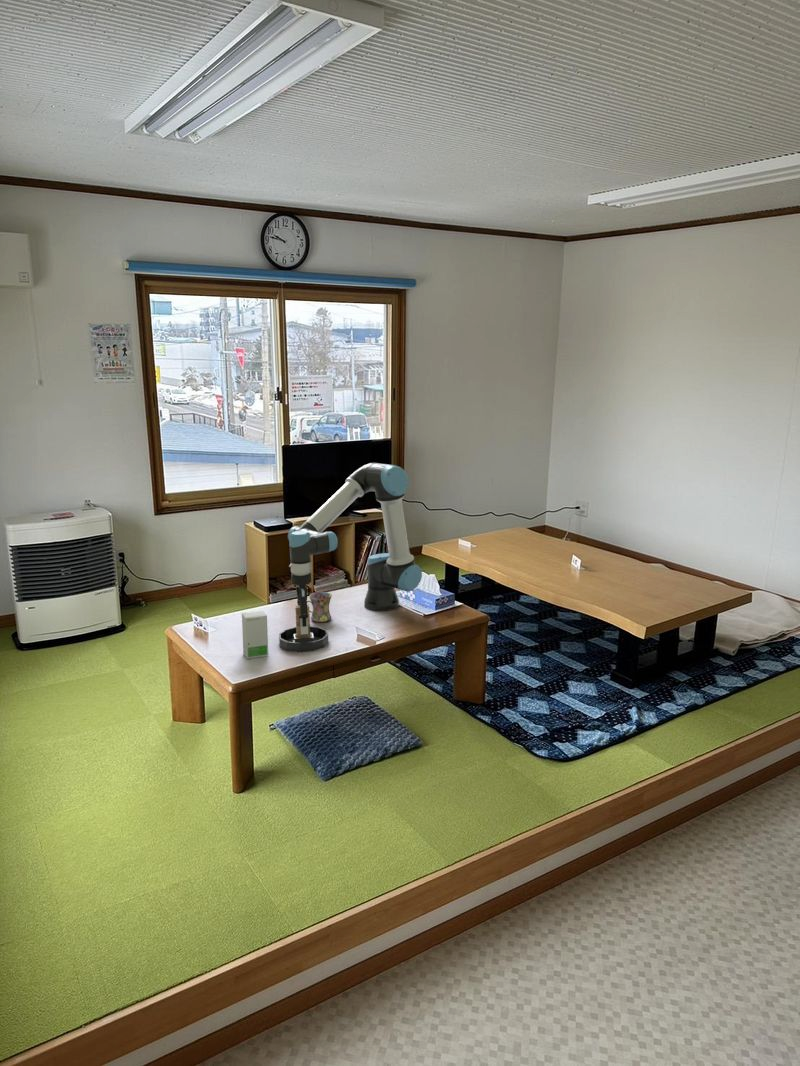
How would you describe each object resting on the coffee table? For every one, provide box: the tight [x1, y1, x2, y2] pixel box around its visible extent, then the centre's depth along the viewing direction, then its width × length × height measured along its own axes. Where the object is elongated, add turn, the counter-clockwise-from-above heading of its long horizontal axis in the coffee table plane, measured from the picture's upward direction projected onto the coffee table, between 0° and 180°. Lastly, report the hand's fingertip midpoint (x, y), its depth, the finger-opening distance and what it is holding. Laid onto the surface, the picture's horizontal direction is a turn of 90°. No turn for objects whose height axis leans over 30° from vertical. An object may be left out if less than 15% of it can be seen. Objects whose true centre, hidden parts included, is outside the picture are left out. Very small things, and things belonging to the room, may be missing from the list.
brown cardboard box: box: [294, 604, 311, 638], centre depth 283 cm, size 5×3×14 cm, turn 102°
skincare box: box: [241, 610, 269, 660], centre depth 272 cm, size 8×7×16 cm
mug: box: [307, 591, 333, 623], centre depth 308 cm, size 12×9×11 cm
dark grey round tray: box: [278, 625, 329, 653], centre depth 284 cm, size 18×18×4 cm
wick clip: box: [293, 633, 314, 643], centre depth 284 cm, size 8×5×2 cm
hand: (303, 628), depth 283 cm, fingers open, 11 cm apart
